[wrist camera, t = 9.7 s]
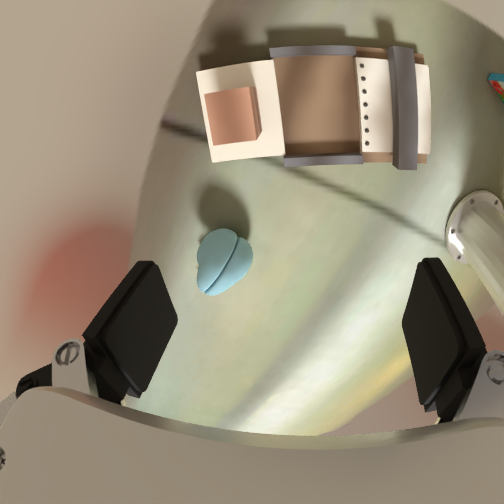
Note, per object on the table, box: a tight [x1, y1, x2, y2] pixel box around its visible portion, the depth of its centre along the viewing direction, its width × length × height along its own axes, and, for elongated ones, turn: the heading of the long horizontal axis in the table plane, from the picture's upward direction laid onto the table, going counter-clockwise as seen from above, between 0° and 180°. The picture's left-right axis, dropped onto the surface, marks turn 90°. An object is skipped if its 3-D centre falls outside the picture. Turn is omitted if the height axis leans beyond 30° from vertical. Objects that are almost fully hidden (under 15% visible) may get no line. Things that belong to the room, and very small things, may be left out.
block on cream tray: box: [196, 60, 285, 163], centre depth 25 cm, size 8×11×7 cm
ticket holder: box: [269, 45, 431, 170], centre depth 25 cm, size 18×14×4 cm
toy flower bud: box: [197, 228, 253, 295], centre depth 37 cm, size 7×9×12 cm
